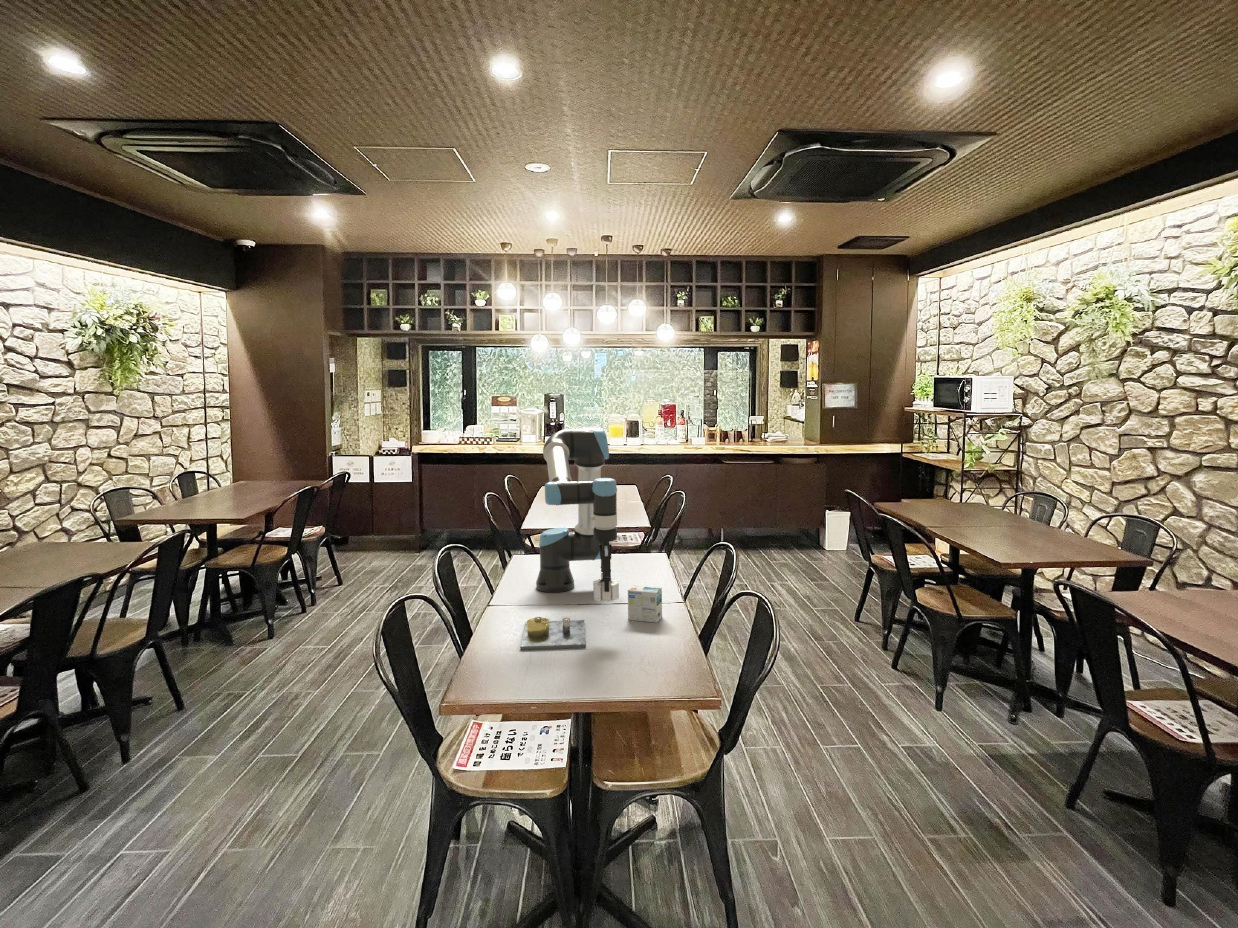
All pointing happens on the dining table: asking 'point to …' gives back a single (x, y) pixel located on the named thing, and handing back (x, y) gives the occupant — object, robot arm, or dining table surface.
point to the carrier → (553, 634)
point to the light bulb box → (645, 603)
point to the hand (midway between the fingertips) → (606, 596)
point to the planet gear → (598, 590)
